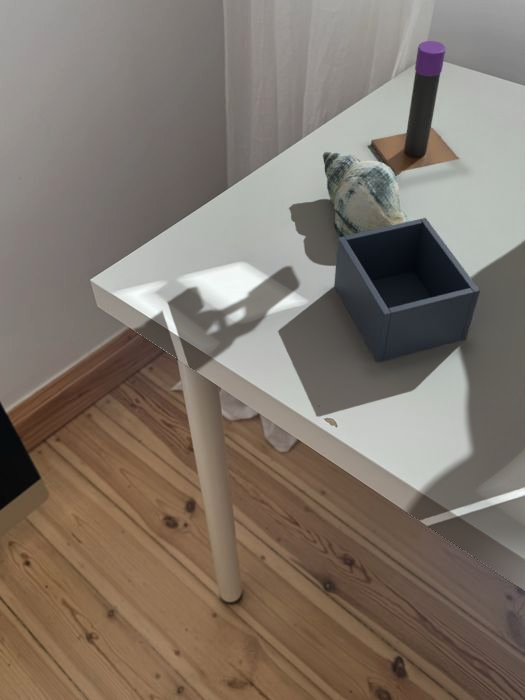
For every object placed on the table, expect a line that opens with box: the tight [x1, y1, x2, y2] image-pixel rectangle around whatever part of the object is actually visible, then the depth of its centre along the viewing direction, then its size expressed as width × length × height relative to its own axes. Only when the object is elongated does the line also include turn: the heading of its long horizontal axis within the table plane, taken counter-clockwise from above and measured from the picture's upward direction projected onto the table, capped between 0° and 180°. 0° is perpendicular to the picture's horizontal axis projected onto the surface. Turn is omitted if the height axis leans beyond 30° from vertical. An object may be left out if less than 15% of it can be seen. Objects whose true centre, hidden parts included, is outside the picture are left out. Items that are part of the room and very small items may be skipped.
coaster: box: [370, 127, 460, 174], centre depth 85 cm, size 8×8×1 cm
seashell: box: [322, 151, 409, 237], centre depth 75 cm, size 6×8×12 cm
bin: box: [333, 217, 481, 364], centre depth 66 cm, size 9×10×7 cm
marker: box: [404, 40, 447, 158], centre depth 80 cm, size 3×3×12 cm
